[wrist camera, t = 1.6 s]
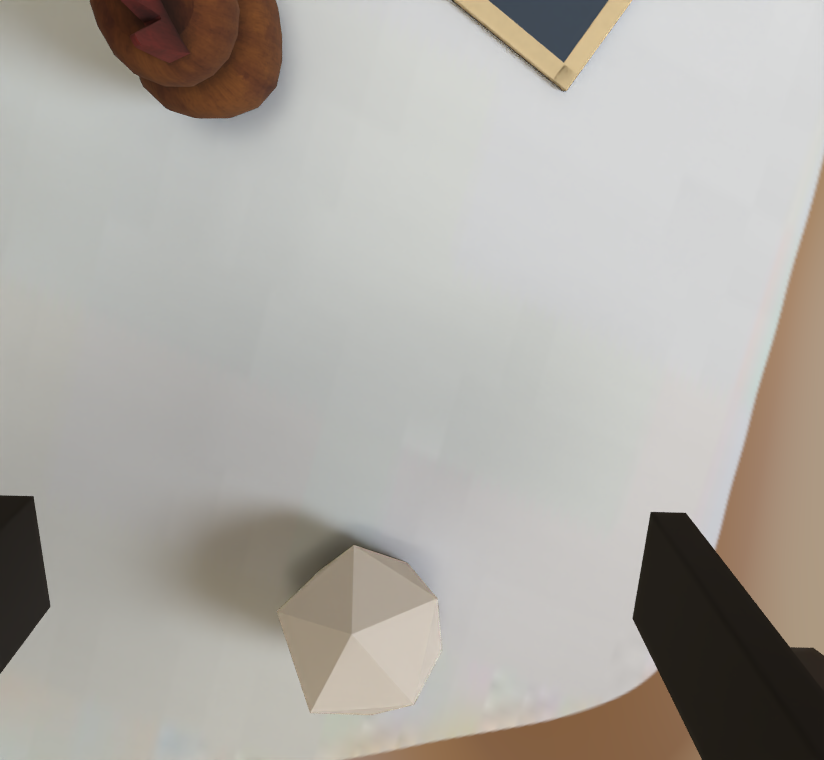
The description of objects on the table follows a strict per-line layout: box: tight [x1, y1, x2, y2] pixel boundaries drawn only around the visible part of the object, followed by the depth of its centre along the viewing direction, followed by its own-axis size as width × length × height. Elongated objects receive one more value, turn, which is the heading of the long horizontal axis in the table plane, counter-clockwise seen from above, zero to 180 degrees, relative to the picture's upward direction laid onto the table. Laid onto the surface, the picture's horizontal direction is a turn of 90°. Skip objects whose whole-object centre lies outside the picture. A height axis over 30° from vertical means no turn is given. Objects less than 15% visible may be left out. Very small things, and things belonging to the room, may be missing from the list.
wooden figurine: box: [90, 0, 282, 118], centre depth 25 cm, size 7×6×15 cm
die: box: [277, 545, 442, 715], centre depth 38 cm, size 8×9×10 cm
